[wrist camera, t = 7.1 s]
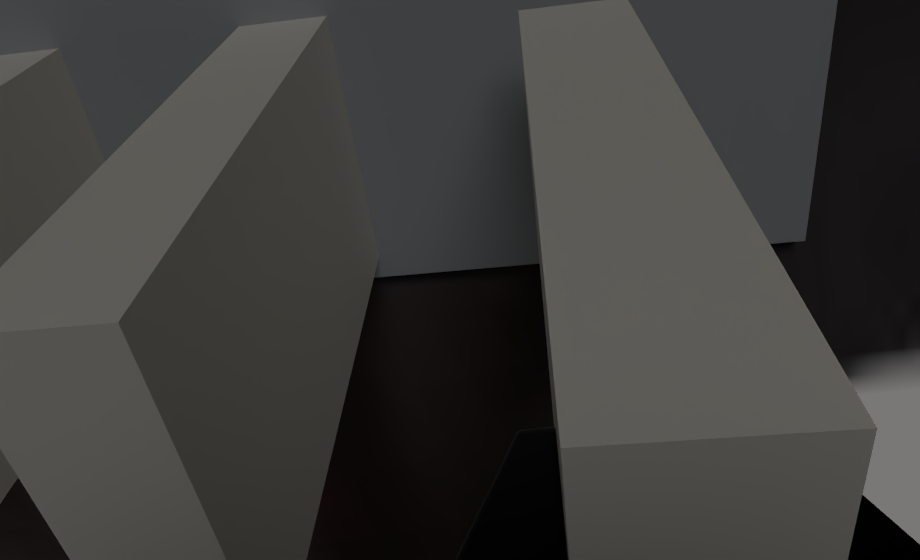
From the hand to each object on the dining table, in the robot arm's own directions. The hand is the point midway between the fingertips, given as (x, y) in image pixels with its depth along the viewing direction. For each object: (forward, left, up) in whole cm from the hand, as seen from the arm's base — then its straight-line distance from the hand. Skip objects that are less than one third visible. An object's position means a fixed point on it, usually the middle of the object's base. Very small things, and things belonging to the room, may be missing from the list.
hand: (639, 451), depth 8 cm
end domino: (0, 0, -6) cm, 6 cm away
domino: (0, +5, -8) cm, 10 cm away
